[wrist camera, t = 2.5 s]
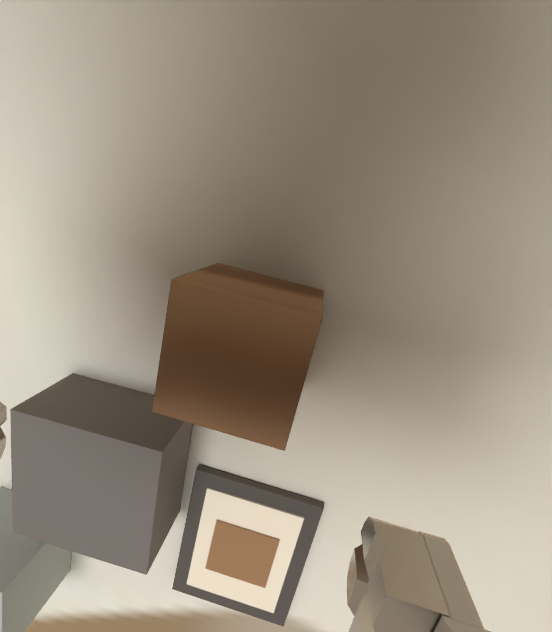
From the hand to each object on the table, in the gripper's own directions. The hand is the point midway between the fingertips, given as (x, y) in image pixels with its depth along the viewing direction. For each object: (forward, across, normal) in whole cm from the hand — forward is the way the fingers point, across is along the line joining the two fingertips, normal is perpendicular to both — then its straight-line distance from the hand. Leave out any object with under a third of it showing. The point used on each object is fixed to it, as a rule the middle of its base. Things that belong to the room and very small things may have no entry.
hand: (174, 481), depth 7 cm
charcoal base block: (+10, +6, +8) cm, 14 cm away
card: (+10, -2, +12) cm, 16 cm away
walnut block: (+10, 0, -1) cm, 10 cm away
